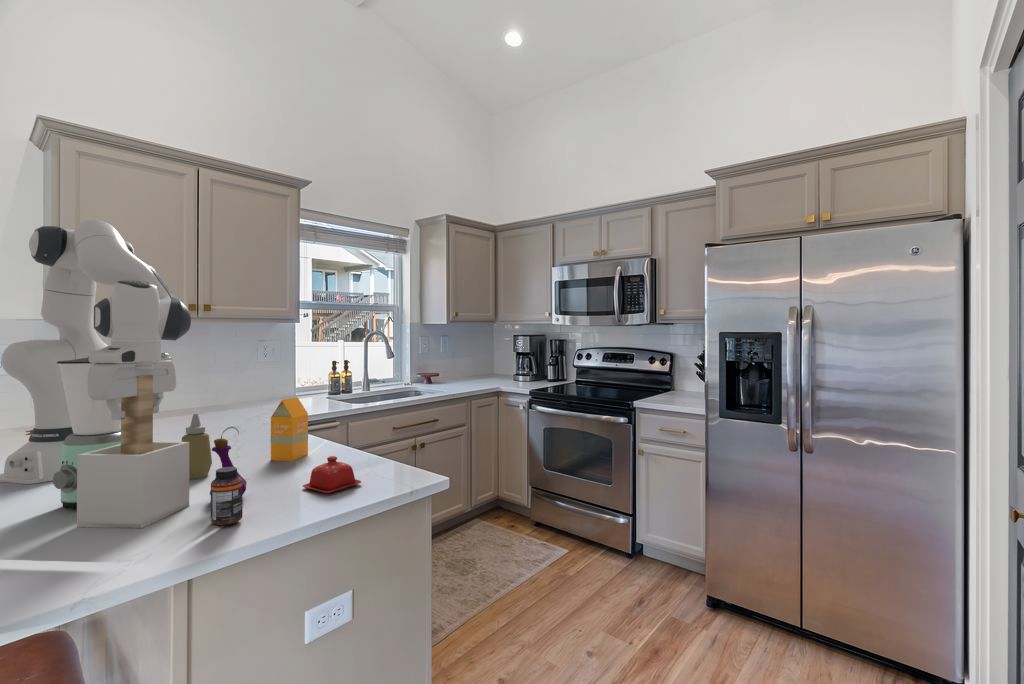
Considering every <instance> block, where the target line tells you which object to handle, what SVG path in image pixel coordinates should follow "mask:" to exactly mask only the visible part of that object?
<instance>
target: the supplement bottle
mask: <svg viewBox="0 0 1024 684" xmlns="http://www.w3.org/2000/svg"><path fill="white" fill-rule="evenodd" d="M237 472H238V468H237V467H236V466H234V467H223V468H222V467H220V468H218V469H216V470H215V478H214V479H213V480H212V481H211V482H210V490H211V495H210V523H211V524H212V525H214V526H227V525H228V526H229V525H232V524H236V523H237V522H239V521H241V520H242V518H243V495H242V479H241V478H240V477H238V475H237Z"/></svg>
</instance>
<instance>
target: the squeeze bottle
mask: <svg viewBox="0 0 1024 684" xmlns="http://www.w3.org/2000/svg"><path fill="white" fill-rule="evenodd" d="M191 418H192V419H191V420H190V421H191V422H190V425H189V426H186V427H185V435H182V437H181V441H180V442H189V481H190V480H192V481H193V480H199V479H203V478H207V477H208V476H209V473H210V470H211V467H212V465H213V459H212V448H211V441H210V434H208V433H207V432H206V425H202V424H201V421H200V416H199V414H198V413H193V414H192V417H191Z"/></svg>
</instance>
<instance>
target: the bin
mask: <svg viewBox="0 0 1024 684" xmlns="http://www.w3.org/2000/svg"><path fill="white" fill-rule="evenodd" d="M189 506H190V480H189V442H181V441H154V440H153V451H152V452H148V453H145V454H141V455H128V454H121V444H119V445H115V446H111V447H107V448H103V449H99V450H95V451H91V452H87V453H83V454H79V455H77V507H76V527H78V528H103V529H104V528H105V529H106V528H109V529H110V528H111V529H113V528H114V529H143V528H145V527H147V526H149V525H152V524H153V523H156V522H158V521H160V520H162V519H164V518H166V517H168V516H171V515H172V514H173V515H174V513H177V512H179V511H181V510H183V509H186V508H188V507H189Z"/></svg>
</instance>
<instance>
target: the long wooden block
mask: <svg viewBox="0 0 1024 684" xmlns="http://www.w3.org/2000/svg"><path fill="white" fill-rule="evenodd" d="M136 378H137V382H138V393H137V396H133V397H125V398H121V410H122V411H125V418H124V419H121V454H128V455H141V454H145V453H148V452H152V451H153V441H154V437H153V435H154V413H153V375H147V376H136Z"/></svg>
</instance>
